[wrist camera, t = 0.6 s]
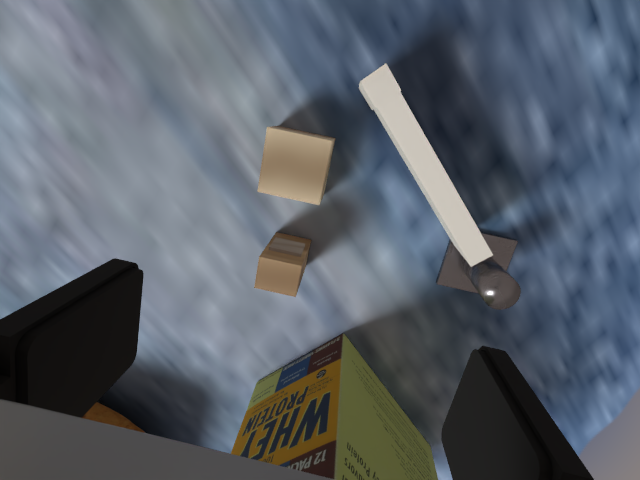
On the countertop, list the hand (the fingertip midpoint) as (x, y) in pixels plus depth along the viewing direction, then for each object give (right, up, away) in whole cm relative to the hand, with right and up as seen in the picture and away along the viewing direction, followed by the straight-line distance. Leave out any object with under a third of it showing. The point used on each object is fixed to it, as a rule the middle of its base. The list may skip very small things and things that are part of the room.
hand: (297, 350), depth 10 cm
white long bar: (+8, +9, +18) cm, 22 cm away
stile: (-2, +2, +22) cm, 22 cm away
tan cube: (-1, +9, +20) cm, 22 cm away
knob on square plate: (+13, +1, +21) cm, 25 cm away
